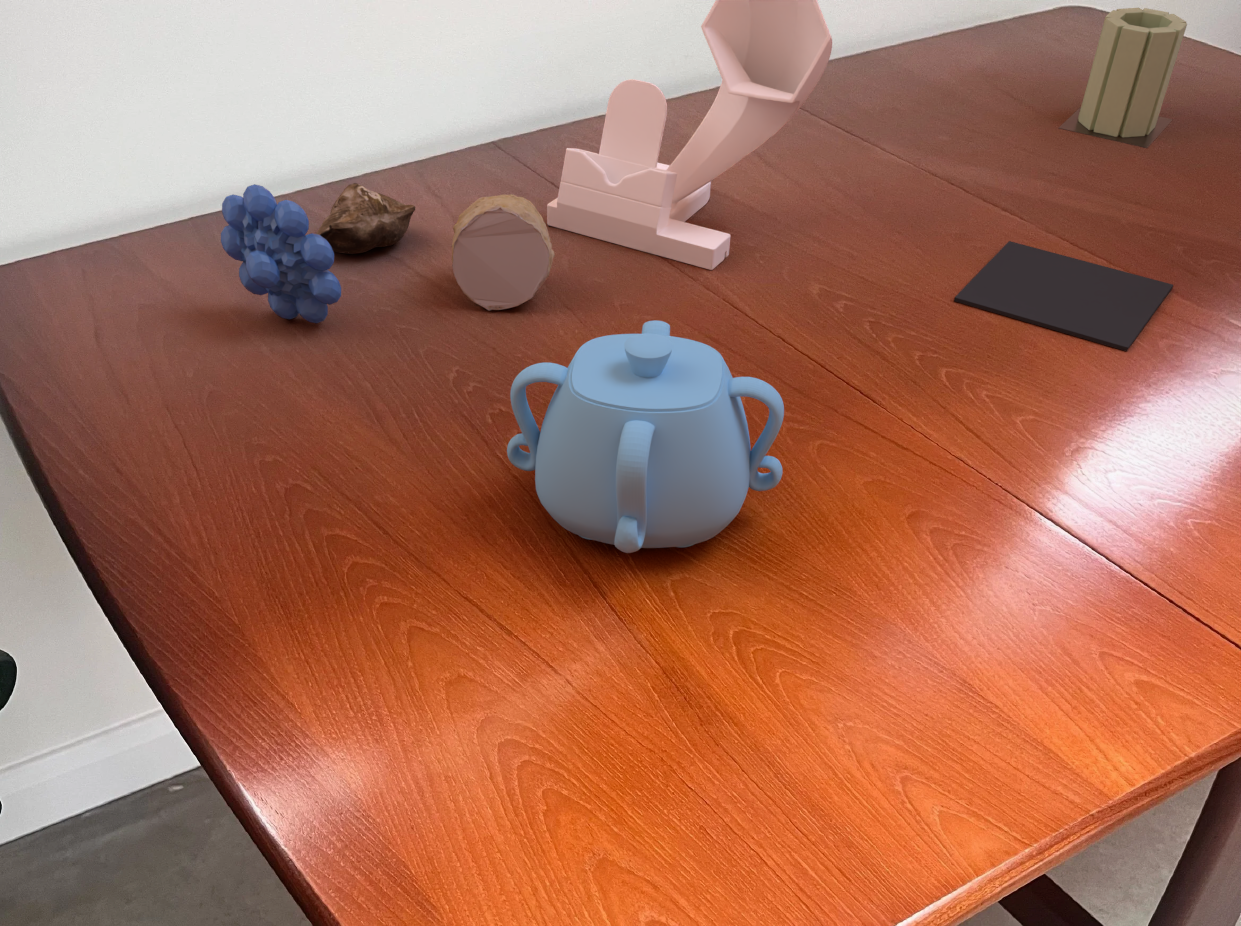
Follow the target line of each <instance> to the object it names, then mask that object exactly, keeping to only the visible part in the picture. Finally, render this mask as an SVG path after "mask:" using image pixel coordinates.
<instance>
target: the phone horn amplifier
mask: <svg viewBox="0 0 1241 926" xmlns="http://www.w3.org/2000/svg"><path fill="white" fill-rule="evenodd" d="M700 29H701V31H702V33H703V36H704V38H705V40H706V43H707V45H708V48H709V50H710V53H711V55H712V57H713V60H714V62H715V65H716V67H717V70H718V72H719V75H720V78H721V84H720V87H719V89H718V92H717V94H716V97H715V99H714V101H713V102H712V104H711V106H710V108H709V109H708V111H707V113H706V114H705V115H704V118H703V120H702V121H701V122H700V124H699V125H698V127H697V128H696V130H695V131H694V133H693V134H692V136H691V137H690V138H689V140H688V141H687V143H686V144H685V145H684V146H683V148H682V149H681V150H680V152H679V153H678V155H677V156H676V157H675V158H674V160H673V161H672V162H671V163H670V164H666V163H661V162H659V158H660V157H659V156H660V152H661V147H662V141H663V136H664V131H665V126H666V122H667V115H668V104H667V102H668V101H667V99H666V97H665V94H664V93H663V91H662V89H661V88H659V86H657V85H656V84H655V83H652V82H649V81H644V80H639V79H634V78H631V79H625V80H623V81H621V82H619V83H618V84H617V85H616V86H615V87H614V88H613V90H612V92H611V93H610V94H609V98H608V102H607V106H606V107H607V108H606V112H605V117H604V124H603V129H602V135H601V140H600V145H599V152H598V153H597V152H593V151H589V150H585V149H581V148H575V147H573V148H572V147H571V148H570V147H567V148H566V149H565V155H564V159H563V165H562V166H563V167H562V173H561V177H560V182H559V186H558V187H559V188H558V194H557V197H556V198H554V199H553V200H552V201H550V202H548V203H547V204H546V225H547V226H550V227H554V228H556V229H560V230H564V231H568V232H572V233H575V234H579V235H583V236H585V237H590V238H592V239H593V238H594V239H597V240H601V241H604V242H608V243H612V244H615V245H619V246H622V247H626V248H629V249H633V250H637V251H641V252H644V253H647V254H651V255H654V256H659V257H662V258H666V259H670V260H674V261H677V262H680V263H685V264H688V265H692V266H695V267H699V268H702V269H706V270H710V271H712V270H714V269H716V268H717V266H719V265H720V264H721V263H722V262H723V261H724V260H725V258H728V257H729V256H730V247H731V234H730V233H728V232H724V231H720V230H717V229H712V228H708V227H704V226H701V225H697V224H693V223H689V222H687V221H688V220H689V219H690V218H691V217H693V216H694V215H695V214H697V212H698V211H700V210H701V209H702V208H703V207H704V206H706V205H707V204H708V201H709V200H710V199H711V198H710V197H711V186H712V182H713V181H714V180H715V179H717V178H718V177H719V176H721V175H723V174H724V173H725V172H727V171H729V170H730V169H731V168H732V167H734V166H735V165H737V164H738V163H739V162H740V161H742V160H743V159H745V158H746V157H747V156H748V155H750V154H752V153H753V152H755V151H756V150H758V149H759V148H760V147H761V146H762V145H764V144H765V143H766V142H767V141H768V140H770V139H771V138H773V136H775V135H776V134H777V133H778V132H779V131H780V130H782V128H783V127H784V126H785V125H786V124H787V123H788V122H789V121H790V120H791V119H792V118H793V117H794V115H796V113H797V112H798V111H799V110H800V108H802V106H803V105H804V104H805V102H806V101H807V100H808V98H809V97H810V95H811V94H812V92H814V90H815V88H816V86H817V85H818V83H819V81H820V80H821V78H822V76H823V74H824V72H825V70H826V68H827V66H828V64H829V61H830V59H831V55H832V50H833V38H832V34H831V32H830V28H829V27H828V24H827V22H826V19H825V17H824V14H823V12H822V8H821V5H820V4H819V1H818V0H715V1H714V3H713V4H712V6H711V8H710V10H709V11H708V13H707V15H706V17H705V18H704V20H703V22H702V24H701V25H700Z"/></svg>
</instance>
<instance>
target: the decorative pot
mask: <svg viewBox="0 0 1241 926" xmlns="http://www.w3.org/2000/svg"><path fill="white" fill-rule="evenodd" d="M569 362H570V363H569V364H568V366H564V365H561V364H559V363H554V362H547V361H546V362H537V363H534V364H531V365H529V366H527V367H525V368H524V369H522V370H521V371H520V372H519V373H518V374H517V375H516V376H515V378H514V380H513V382H512V384H511V387H510V393H509V398H510V405H511V409H512V412H513V415H514V418H515V420H516V423H517V425H518V427H519V429H520V431H521V432H520V433H517V434H515V435H513V436H512V437H511V438H510V440H509V441H508V444H507V447H506V448H507V449H506V454H507V458H508V460H509V462H510V463H511V465H513V466H514V467H515V468H516V469H519V470H522V471H525V472H532V471H534V474H535V475H534V482H535V493H536V494H537V497H538V499H539V502H540V504H541V505H542V506H543V508H544V509H545V510H546V512H547V513H548V514H549V515H550V516H551V518H552V519H553V520H554V521H555V522H557V524H558V525H560V526H561V527H562V528H563V529H565V530H567V531H569V532H570V533H572V534H574V535H578V536H579V537H580V538H582V539H585V540H588V541H589V540H591V541H596V542H600V543H604V544H609V545H614V547H615V548H616V549H617V550H618V551H620V552H623V553H625V554H632V553H635V552H638V551H639V550H640V549H664V548H688V547H692V546H694V545H696V544H700V543H703V542H706V541H709V540H710V539H713V538H714V537H716V536H717V535H719V534H720V533H721V532H723V530H725V529H726V528H727V527H728V526H729V525H730V524H731V522H733V520H735V518H736V517H737V516H738V515H739V513H740V511H741V508H742V507H743V505H744V502H745V500H746V498H747V494H748V491H749V489H750V490H752V491H754V492H766V491H770V490H772V489H774V488H776V487H777V485H779V483H780V482H781V480H782V477H783V473H784V472H783V465H782V463H781V462H780V460H779V459H778V458H776V456H772V455H767V454H768V452H769V451H770V449H771V447H772V445H773V444H774V442H775V440H776V438H777V436H778V434H779V433H780V430H781V427H782V425H783V422H784V417H785V406H784V401H783V398H782V396H781V394H780V393H779V392H778V390H776V388H775V387H774V386H773V385H771V384H770V383H768V382H766V381H765V380H762V379H760V378H757V377H752V376H735V377H733V375H732V372H731V371H730V368H729V366H728V364H727V362H726V361H725V359H724V357H723V355H722V354H721V352H719V351H718V350H717V349H715V348H714V347H712V346H710V345H709V344H706V343H703V342H701V341H697V340H694V339H690V338H685V337H679V336H675V335H674V336H673V335H671V325H670V324H669V323H668V322H666V321H663V320H654V319H653V320H648V321H645V322H644V323H643V324H642V328H641V333H619V334H609V335H603V336H598V337H595V338H592V339H590V340H588V341H586V342H585V343H583V344H582V345H581V346H580V347H579V348H578V350H577V351H576V352H575V354H574V355H573V357H572V359H571V361H569ZM535 383H549V384H554V385H557V386H556V389H555V391H554V392H553V395H552V397H551V399H550V402H549V403H548V406H547V408H546V411H545V415H544V418H543V420H542V424H541V428H539V426H538V424H537V422H536V420H535V417H534V415H533V413H532V410H531V408H530V405H529V401H528V397H527V391H526V389H527V387H528V386H529V385H532V384H535ZM742 397H743V398H744V397H745V398H752V399H755V400H757V401H759V402H762V403H763V404H764V405H765V406H766V407H767V408H768V412H769V413H768V417H767V421H766V423H765V426H764V428H763V430H762V431H761V433H760V435H759V436H758V438H757V440H756V441H755V443H754V445H753V447H752V448H751V439H750V432H749V431H750V429H749V425H748V420H747V415H746V411H745V408H744V404H743V400H742ZM520 446H525V447H528V450H529V452H527V451H524V450H523V449H521V447H520ZM758 469H768V470H769V471H770V472H766V473H765V472H763V473H762V472H759V471H758Z"/></svg>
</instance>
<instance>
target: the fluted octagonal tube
mask: <svg viewBox="0 0 1241 926" xmlns="http://www.w3.org/2000/svg"><path fill="white" fill-rule="evenodd" d="M1187 26H1188V23H1187V21H1186V20H1184V19H1183V18H1181V17H1179V16H1178V15H1177V14H1176V13H1170V12H1169V11H1163V10H1157V9H1153V8H1146V7H1144V8H1140V7H1126V8H1116V9H1113V10H1111V11H1110V12H1109V13H1108V14H1107V15H1105V17H1104V20H1103V24H1102V27H1101V31H1100V35H1099V39H1098V42H1097V46H1096V50H1095V54H1094V57H1093V61H1092V65H1091V68H1090V72H1089V76H1088V80H1087V84H1086V87H1085V91H1084V95H1083V98H1082V103H1081V106H1080V107H1081V109H1080V113H1079V117H1078V119H1079V120H1078V122H1080V123H1081V124H1082V125H1083V126H1085V127H1086V128H1087V129H1088V130H1094V132H1096V133H1101V134H1105V135H1109V136H1114V137H1118V136H1119V135H1120V136H1121V137H1122V138H1125V137H1138V136H1145V134H1146V135H1148V134H1149V133H1150V132H1151V131H1152V130H1153V129H1154V128H1155V126H1156V123H1157V120H1158V116H1160V114H1161V110H1162V106H1163V103H1164V101H1165V97H1166V94H1167V90H1168V87H1169V85H1170V80H1171V78H1172V75H1173V71H1174V68H1175V64H1176V61H1177V59H1178V55H1179V52H1180V49H1181V45H1182V43H1183V39H1184V36H1185V32H1186V29H1187Z"/></svg>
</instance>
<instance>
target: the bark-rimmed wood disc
mask: <svg viewBox="0 0 1241 926" xmlns="http://www.w3.org/2000/svg"><path fill="white" fill-rule="evenodd" d="M452 230H453V233H454V235H453V237H452V245H451V263H452V264H451V267H452V272H453V276H454V278H455V281H456V283H457V284H458V286H459V287H460V290H461V292H462V294H464V296H466V297H467V298H468V299H469V300H470V301H472V302H473V303H474V304H475V305H478V306H480V307H482V308H484V309H485V310H487V311H489V312H490V311H501V310H507V309H512V308H515V307H519V306H520V305H522V304H523V303H526V302H527V301H529V300H532V299H533V298H534V297H535V296H536V294H537V292H538V291H539V289H541V287H542V286H543V284H544V283H545V282H546V281H547V279H548V278H549V277H550V274H551V273H550V272H551V269H552V266H553V261H554V258H555V251H554V250H553V248H552V247H553V244H552V242H551V237H550V233H549V229H548V227H547V222H545V220H544V218H543V216H542V215H541V213H540V212H539V210H538V209H537V207H536V206H535V205H534V204H533V203H532V202H531V201H530V200H529V199H526V197H523V196H517V195H515V194H512V193H509V194H499V195H492V196H481V197H479V198H477V199H476V200H475V201H473V202H472V203H471V204H470V205H469V206H468V207H467V208H466V209H465V210H463V211H462V212H461V213H460V214H459V215H458V219H457V221H456V223H455V224H454V225H453V226H452Z"/></svg>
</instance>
